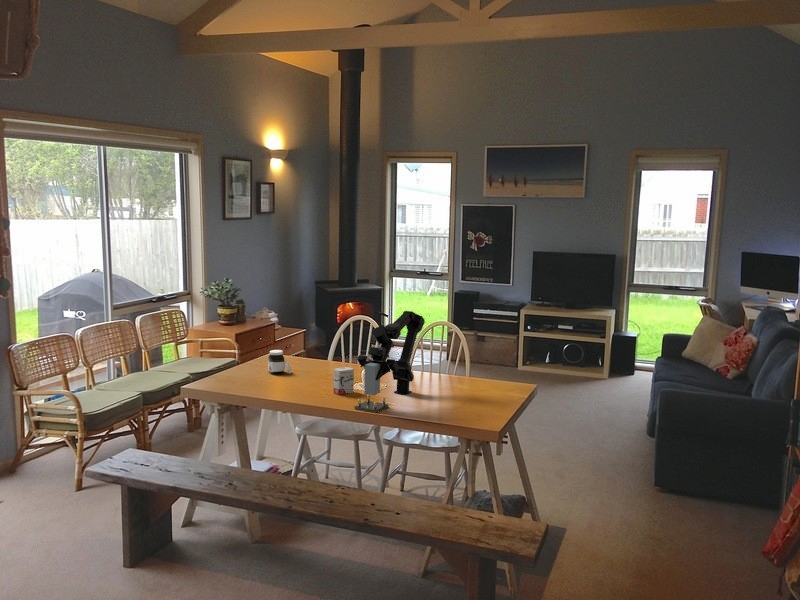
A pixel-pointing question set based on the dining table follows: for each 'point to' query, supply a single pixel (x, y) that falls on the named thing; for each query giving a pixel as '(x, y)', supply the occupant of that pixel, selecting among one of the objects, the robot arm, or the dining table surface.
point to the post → (372, 379)
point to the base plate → (371, 405)
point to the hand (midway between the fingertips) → (370, 379)
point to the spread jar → (277, 362)
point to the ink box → (343, 380)
